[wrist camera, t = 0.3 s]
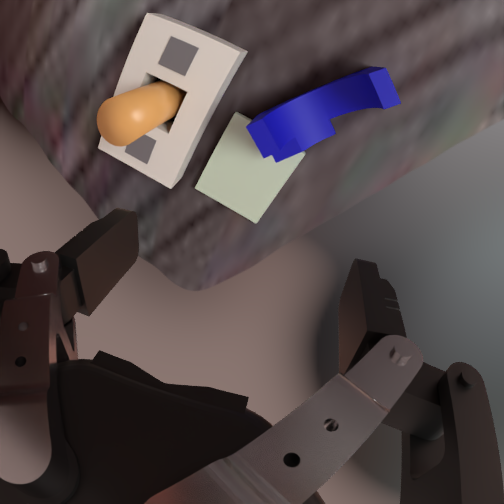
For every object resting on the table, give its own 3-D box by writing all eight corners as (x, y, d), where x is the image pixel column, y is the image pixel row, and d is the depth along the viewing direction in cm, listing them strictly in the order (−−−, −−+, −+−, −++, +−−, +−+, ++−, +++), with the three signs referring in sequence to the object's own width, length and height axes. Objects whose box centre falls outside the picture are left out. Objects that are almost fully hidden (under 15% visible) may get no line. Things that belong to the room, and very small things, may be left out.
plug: (161, 72, 28) (104, 89, 20) (195, 88, 29) (147, 109, 21) (147, 105, 30) (91, 133, 23) (179, 122, 31) (130, 154, 23)
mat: (236, 111, 29) (235, 112, 29) (305, 152, 31) (305, 154, 30) (196, 185, 35) (194, 188, 35) (257, 221, 37) (256, 223, 36)
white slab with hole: (161, 14, 24) (146, 12, 21) (247, 51, 25) (240, 52, 23) (112, 139, 34) (97, 148, 31) (181, 177, 35) (170, 189, 33)
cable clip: (279, 153, 31) (272, 174, 26) (257, 114, 29) (245, 126, 24) (390, 109, 26) (407, 120, 21) (371, 66, 24) (385, 67, 19)
